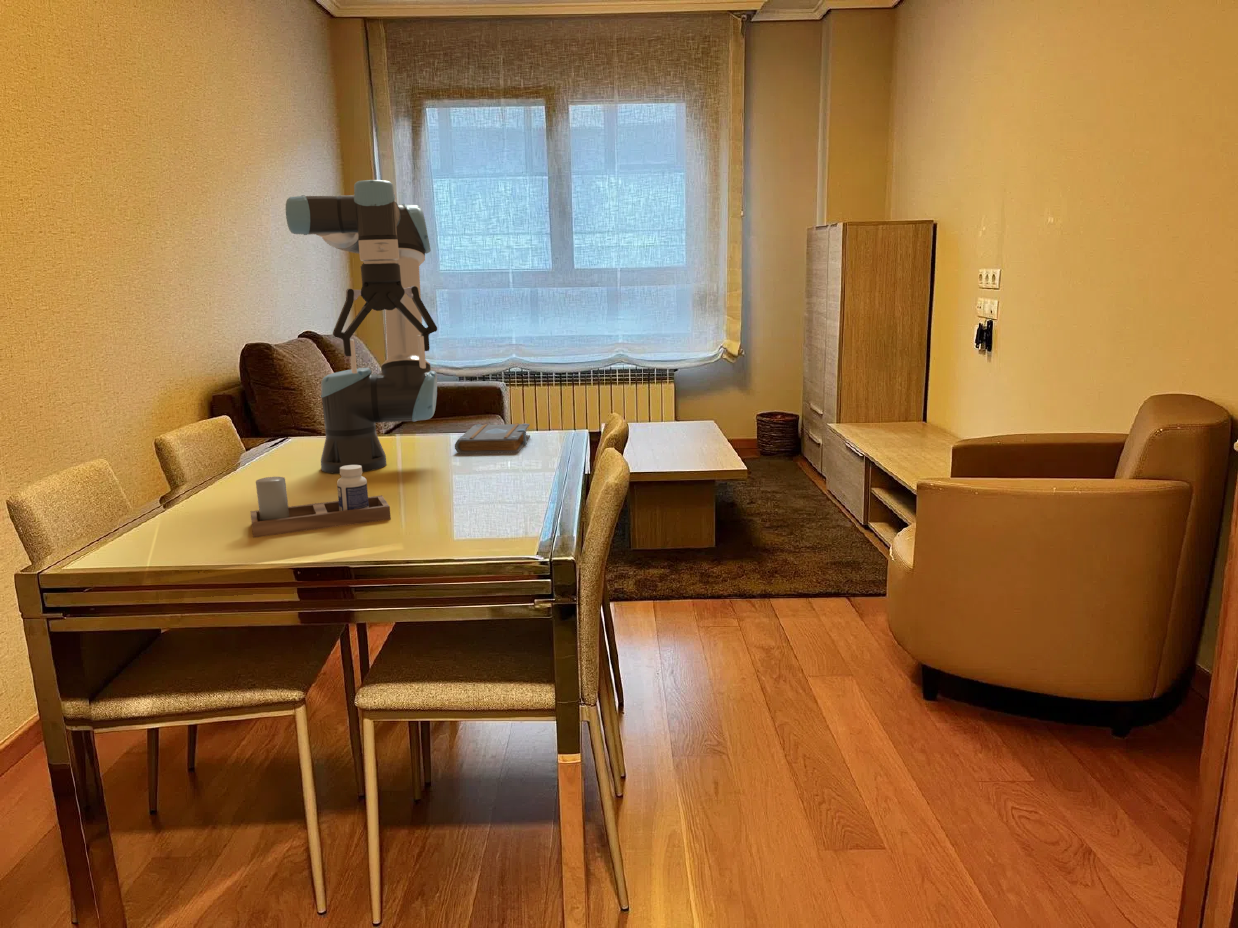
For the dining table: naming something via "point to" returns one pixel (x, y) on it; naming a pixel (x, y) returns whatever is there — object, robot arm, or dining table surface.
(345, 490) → the pill bottle
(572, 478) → the dining table surface
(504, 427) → the book
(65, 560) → the dining table surface
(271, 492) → the grey rounded cylinder
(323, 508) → the rack
